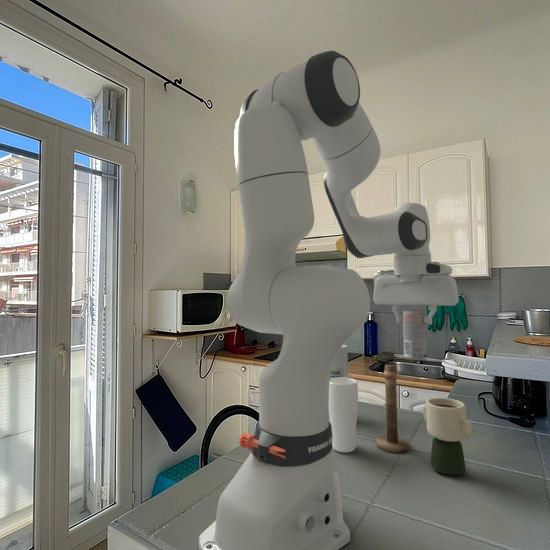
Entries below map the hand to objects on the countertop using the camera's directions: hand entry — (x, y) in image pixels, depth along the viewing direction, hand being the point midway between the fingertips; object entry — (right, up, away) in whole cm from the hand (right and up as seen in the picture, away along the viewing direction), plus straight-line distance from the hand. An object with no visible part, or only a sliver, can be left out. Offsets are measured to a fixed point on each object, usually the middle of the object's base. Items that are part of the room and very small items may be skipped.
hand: (414, 323), depth 88 cm
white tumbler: (-20, -27, -9) cm, 35 cm away
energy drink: (0, -9, 0) cm, 9 cm away
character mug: (-1, -26, -20) cm, 33 cm away
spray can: (-18, -28, +10) cm, 34 cm away
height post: (-8, -27, -9) cm, 29 cm away
